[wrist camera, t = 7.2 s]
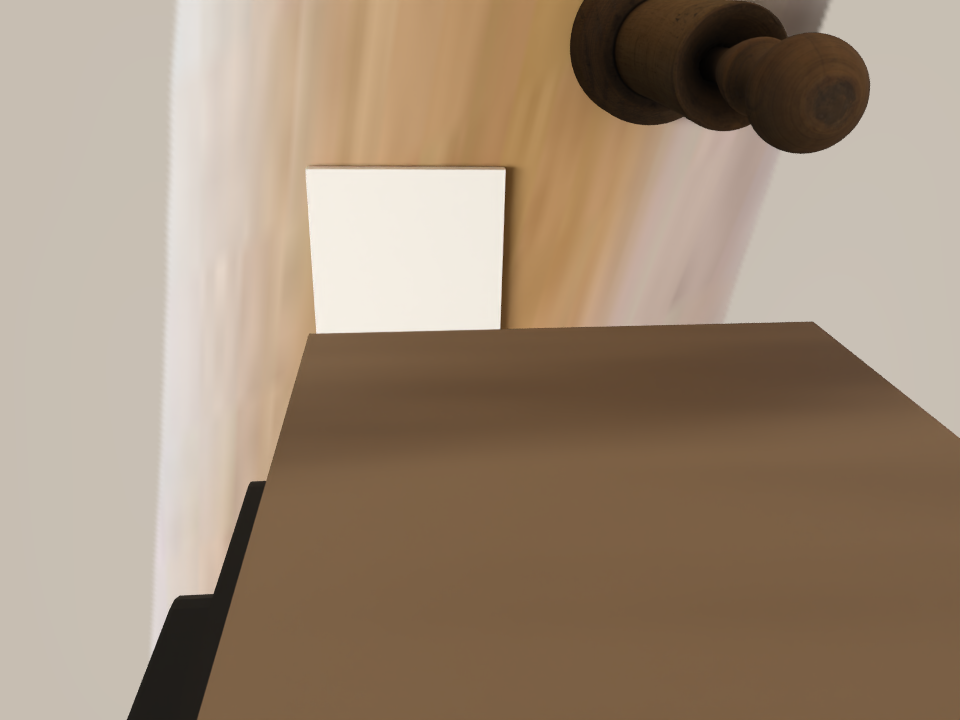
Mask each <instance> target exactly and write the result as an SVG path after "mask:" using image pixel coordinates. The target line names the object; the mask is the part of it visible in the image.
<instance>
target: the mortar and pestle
mask: <svg viewBox="0 0 960 720" xmlns="http://www.w3.org/2000/svg"><path fill="white" fill-rule="evenodd" d="M570 55H571V62H572V67H573V70H574V73H575V76H576V78H577V80H578V82H579V84H580V86H581V88H582V89H583V91H584V92H585V93H586V94H587V96H588V97H589V98H590V99H591V100H592V101H593V102H594V103H595V104H596V105H598V106H599V107H600V108H602V109H603V110H605V111H606V112H608V113H610V114H611V115H613V116H615V117H617V118H619V119H621V120H623V121H626V122H630V123H634V124H640V125H658V124H664V123H668V122H672V121H674V120H677V119H679V118H682V117H686V118H687V119H689V120H691V121H692V122H694V123H696V124H698V125H699V126H702V127H704V128H707V129H710V130H715V131H731V130H736V129H740V128H743V127H746V126H748V125H750V124H751V125H752V127H753V129H754V130H755V132H756V133H757V134H758V135H759V136H760V137H761V138H762V139H763V140H764V141H765V142H767V143H768V144H770V145H771V146H773V147H775V148H777V149H779V150H782V151H786V152H790V153H800V154H802V153H812V152H817V151H821V150H824V149H827V148H829V147H831V146H833V145H834V144H836V143H838V142H839V141H841V140H842V139H843V138H845V136H847V135H848V134H849V133H850V132H851V131H852V130H853V129H854V128H855V126H856V125H857V124H858V122H859V121H860V119H861V117H862V115H863V113H864V111H865V109H866V107H867V104H868V99H869V92H870V79H869V74H868V70H867V67H866V65H865V63H864V61H863V59H862V58H861V56H860V55H859V54H858V52H857V51H856V50H855V49H854V48H853V47H852V46H850V45H849V44H848V43H847V42H845V41H843V40H841V39H840V38H837V37H835V36H831V35H828V34H823V33H802V34H797V35H794V36H791V37H787V34H786V32H785V29H784V27H783V25H782V23H781V22H780V20H779V19H778V18H777V17H776V16H775V15H774V14H773V13H771V12H770V11H769V10H767V9H766V8H764V7H762V6H760V5H758V4H755V3H751V2H746V1H733V0H584V1H583V3H582V4H581V6H580V8H579V10H578V12H577V15H576V18H575V20H574V24H573V28H572V33H571V40H570Z"/></svg>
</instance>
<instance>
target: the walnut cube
mask: <svg viewBox="0 0 960 720" xmlns="http://www.w3.org/2000/svg"><path fill="white" fill-rule="evenodd" d="M197 720H960V438H959V437H957V436H956V435H955V434H954V433H952V432H951V431H950V430H949V429H947V428H946V427H945V426H943V425H942V424H941V423H940V422H939V421H937V420H936V419H935V418H934V417H932V416H931V415H930V414H928V413H927V412H926V411H924V409H922V408H921V407H920V406H918V405H917V404H916V403H915V402H913V401H912V400H911V399H910V398H908V397H907V396H906V395H905V394H903V393H902V392H901V391H899V390H898V389H897V388H896V387H895V386H893V385H892V384H891V383H890V382H888V381H887V380H886V379H884V378H883V377H882V376H881V375H879V374H878V373H877V372H876V371H874V370H873V369H872V368H871V367H869V366H868V365H867V364H865V363H864V362H863V361H862V360H861V359H859V358H858V357H857V356H856V355H854V354H853V353H852V352H850V351H849V350H848V349H847V348H845V347H844V346H843V345H842V344H840V343H839V342H838V341H837V340H835V339H834V338H833V337H832V336H830V335H829V334H828V333H827V332H825V331H824V330H823V329H822V328H820V327H819V326H818V325H817V324H815V323H814V322H782V323H781V322H780V323H738V324H696V325H654V326H613V327H571V328H529V329H487V330H445V331H403V332H361V333H320V334H309V336H308V339H307V343H306V346H305V350H304V353H303V356H302V360H301V363H300V367H299V370H298V374H297V377H296V381H295V384H294V387H293V391H292V394H291V398H290V401H289V405H288V408H287V412H286V415H285V419H284V422H283V425H282V429H281V432H280V436H279V439H278V443H277V446H276V450H275V453H274V456H273V460H272V463H271V467H270V470H269V474H268V477H267V481H266V484H265V487H264V491H263V494H262V498H261V501H260V505H259V508H258V512H257V515H256V518H255V522H254V525H253V529H252V532H251V536H250V539H249V543H248V546H247V549H246V553H245V556H244V560H243V563H242V567H241V570H240V574H239V577H238V580H237V584H236V587H235V591H234V594H233V598H232V601H231V605H230V608H229V612H228V615H227V618H226V622H225V625H224V629H223V632H222V636H221V639H220V643H219V646H218V649H217V653H216V656H215V660H214V663H213V667H212V670H211V674H210V677H209V680H208V684H207V687H206V691H205V694H204V698H203V701H202V705H201V708H200V711H199V715H198V718H197Z"/></svg>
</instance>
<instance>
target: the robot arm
mask: <svg viewBox="0 0 960 720" xmlns="http://www.w3.org/2000/svg"><path fill="white" fill-rule="evenodd" d="M265 484H266V481H254V482H250V484H249V486H248V489H247V492H246V495H245V498H244V501H243V504H242V508H241V511H240V514H239V517H238V520H237V523H236V526H235V529H234V532H233V535H232V539H231V542H230V545H229V548H228V551H227V554H226V557H225V560H224V563H223V566H222V570H221V573H220V576H219V579H218V582H217V585H216V588H215V591H214V594H205V595H184V596H179V597H177V598H176V599H175V600H174V602H173V604H172V606H171V608H170V610H169V612H168V615H167V617H166V620H165V623H164V625H163V628H162V630H161V633H160V636H159V638H158V641H157V643H156V646H155V649H154V651H153V654H152V656H151V659H150V661H149V664H148V667H147V669H146V672H145V674H144V677H143V680H142V682H141V685H140V687H139V690H138V693H137V695H136V698H135V700H134V703H133V705H132V708H131V711H130V713H129V716H128V719H127V720H197V718H198V715H199V711H200V708H201V705H202V701H203V698H204V694H205V691H206V687H207V684H208V680H209V677H210V674H211V670H212V667H213V663H214V660H215V656H216V653H217V649H218V646H219V643H220V639H221V636H222V632H223V629H224V625H225V622H226V618H227V615H228V612H229V608H230V605H231V601H232V598H233V594H234V591H235V587H236V584H237V580H238V577H239V574H240V570H241V567H242V563H243V560H244V556H245V553H246V549H247V546H248V543H249V539H250V536H251V532H252V529H253V525H254V522H255V518H256V515H257V512H258V508H259V505H260V501H261V498H262V494H263V491H264V487H265Z"/></svg>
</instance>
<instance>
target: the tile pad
mask: <svg viewBox="0 0 960 720" xmlns="http://www.w3.org/2000/svg"><path fill="white" fill-rule="evenodd" d="M505 174H506V169H505V167H391V166H307V167H306V184H307V199H308V214H309V229H310V244H311V259H312V274H313V289H314V303H315V318H316V333H317V334H320V333H361V332H403V331H445V330H487V329H500V320H501V291H502V262H503V233H504V203H505Z"/></svg>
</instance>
